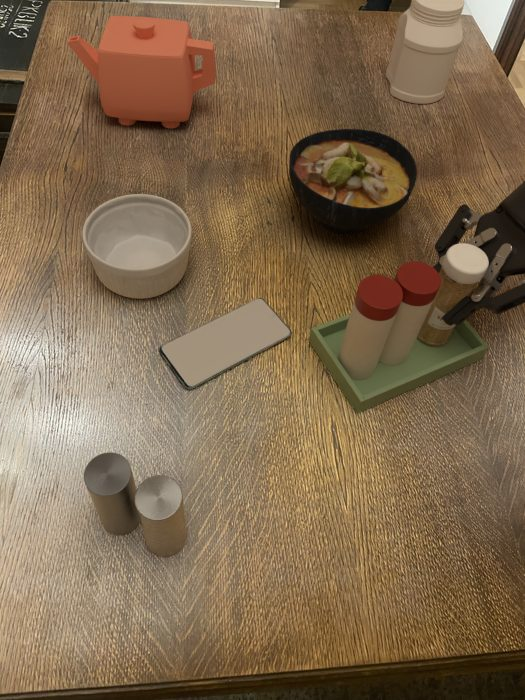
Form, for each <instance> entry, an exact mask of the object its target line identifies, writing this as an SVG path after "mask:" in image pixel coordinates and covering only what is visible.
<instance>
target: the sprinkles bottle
mask: <svg viewBox="0 0 525 700" xmlns="http://www.w3.org/2000/svg"><path fill="white" fill-rule="evenodd" d="M488 265H489V261H488V257H487V256H486V254H485V253H484V252H483V251H482V250H481V249H480V248H478V247H476V246H474V245H471V244H466V243H464V242H461V243H460V242H459V243H458V244H456V245H453V246H452V247H450V248H449V249H448V251H447V253H446V255H445V257H444V259H443V262H442V268H441V270H440V272H439V275H440V278H441V285H440V287H439V290H438V292H437V294H436V296H435V298H434V301H433V303H432V305H431V307H430V309H429V312H428V314H427V316H426V318H425V320H424V322H423V325H422V327H421V329H420V331H419V333H418V336H417V337H418V338H419V339H420V340H421V341H422V342H424V343H426V344H428V345H431V346H441V345H444V344H445V343H447V342H448V340H449V339H450V337H451V333H452V331H453V329H454V327H455V326H456V325H455V324H453V325H451V326H449V325H448V324H446V323H445V322H444V321H443V319H442V317H443V316H444V315H445V314H446V313H447V312H448V311H450V310H451V309H452V308H453V307H454V306H455V305H457V304H458V303H459V302H460V301H461V300H462V299H464V298H465V297H466V296H468V297H470V296H471V295H472V293H473V292H474V290H475V289H476V287H477V286H478V284H479V283H480V281H481V279H482V278H483V276H484V274H485V272H486V270H487V268H488Z"/></svg>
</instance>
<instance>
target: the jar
mask: <svg viewBox="0 0 525 700" xmlns="http://www.w3.org/2000/svg"><path fill="white" fill-rule="evenodd" d="M464 6H465V0H411V2H410V5H409V8H408V9H407V10H405V11H404V12H403V13H401V15H400V16H399V17H398V21H397V26H396V31H395V35H394V40H393V43H392V48H391V52H390V56H389V60H388V64H387V67H386V71H385V77H386V79H387V81H388V83H389V85H390V86H389V94H390V95H391V96H392V97H394V98H396V99H398V100H400V101H402V102H405V103H409V104H415V105H426V104H428V105H429V104H434V103H436V102H438V101H440V100H442V99H443V98H444V96H445V94H446V89H447V87H448V83H449V80H450V77H451V74H452V71H453V69H454V65H455V61H456V58H457V56H458V53H459V49H460V48H461V45H462V42H463V34H464V30H463V25H462V20H461V16H462V13H463V10H464Z"/></svg>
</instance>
